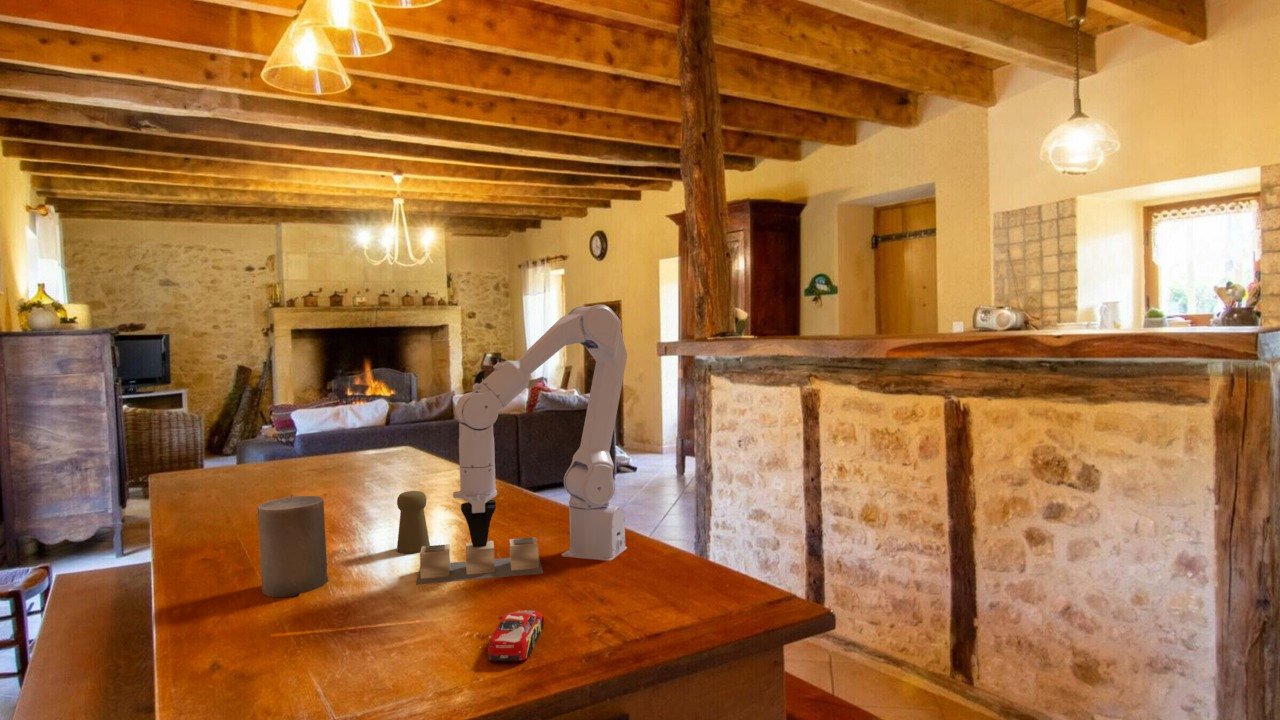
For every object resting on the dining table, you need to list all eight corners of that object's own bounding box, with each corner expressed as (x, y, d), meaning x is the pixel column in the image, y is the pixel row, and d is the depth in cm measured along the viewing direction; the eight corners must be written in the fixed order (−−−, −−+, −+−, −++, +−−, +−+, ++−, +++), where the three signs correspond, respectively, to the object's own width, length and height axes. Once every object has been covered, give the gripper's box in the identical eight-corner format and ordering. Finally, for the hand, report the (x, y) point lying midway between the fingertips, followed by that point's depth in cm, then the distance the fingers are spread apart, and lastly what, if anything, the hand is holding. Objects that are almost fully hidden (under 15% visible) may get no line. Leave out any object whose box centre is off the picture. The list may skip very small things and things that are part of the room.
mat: (538, 557, 133) (538, 555, 133) (543, 575, 124) (543, 573, 124) (420, 567, 129) (420, 565, 129) (416, 586, 119) (415, 584, 119)
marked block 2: (536, 560, 131) (535, 536, 130) (538, 568, 126) (538, 543, 126) (510, 562, 130) (509, 538, 129) (511, 570, 125) (510, 545, 125)
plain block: (494, 563, 129) (493, 540, 129) (494, 572, 125) (493, 548, 124) (466, 566, 128) (466, 542, 128) (466, 574, 124) (465, 550, 124)
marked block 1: (450, 567, 127) (449, 543, 127) (449, 576, 123) (448, 550, 123) (422, 570, 126) (421, 545, 126) (420, 578, 122) (419, 553, 122)
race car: (509, 625, 104) (508, 596, 104) (548, 625, 104) (547, 596, 103) (481, 667, 91) (480, 634, 91) (525, 668, 90) (524, 634, 90)
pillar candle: (341, 580, 124) (337, 488, 123) (296, 600, 114) (291, 501, 114) (294, 575, 127) (289, 486, 126) (246, 595, 118) (241, 499, 117)
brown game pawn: (420, 556, 135) (418, 495, 135) (389, 555, 137) (387, 495, 136) (436, 547, 141) (434, 488, 141) (406, 545, 143) (404, 488, 142)
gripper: (453, 459, 132) (456, 536, 132) (451, 474, 118) (453, 560, 118) (495, 456, 133) (497, 533, 134) (497, 471, 119) (499, 557, 120)
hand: (479, 546), depth 126 cm, fingers closed, pressing on plain block
